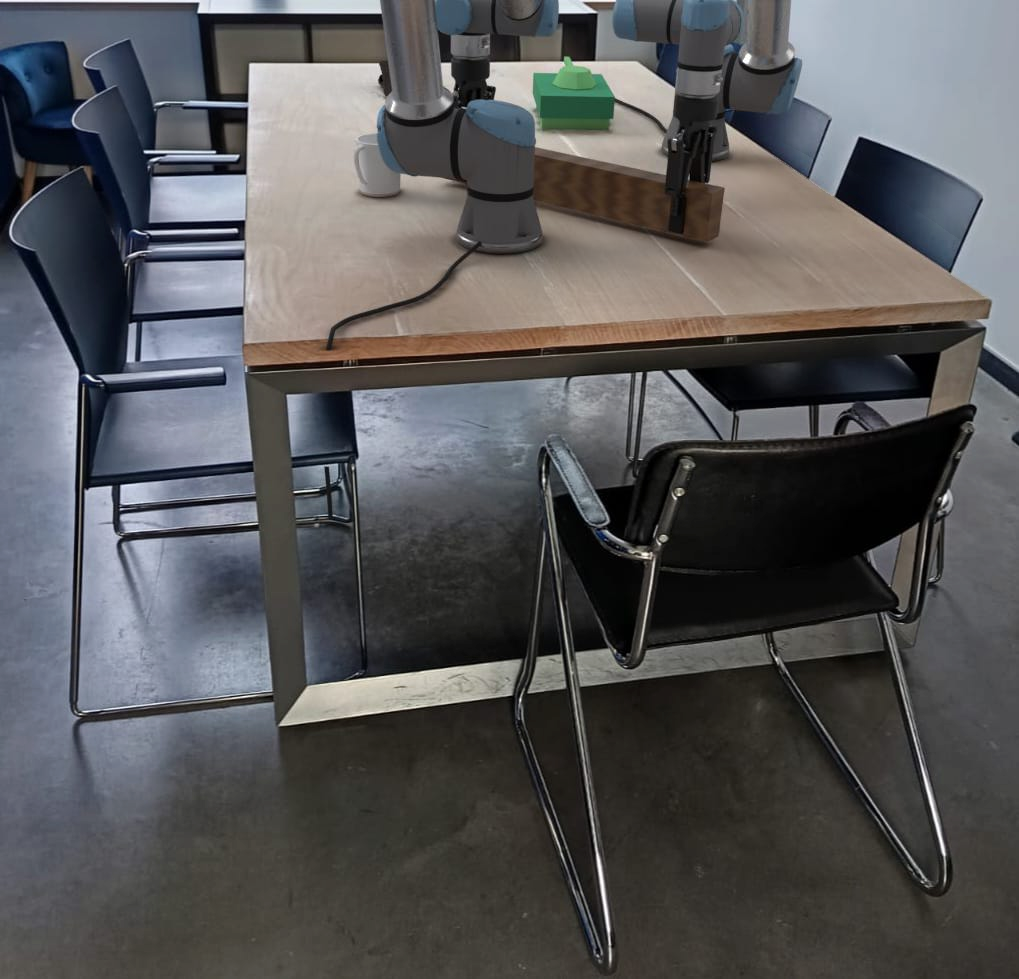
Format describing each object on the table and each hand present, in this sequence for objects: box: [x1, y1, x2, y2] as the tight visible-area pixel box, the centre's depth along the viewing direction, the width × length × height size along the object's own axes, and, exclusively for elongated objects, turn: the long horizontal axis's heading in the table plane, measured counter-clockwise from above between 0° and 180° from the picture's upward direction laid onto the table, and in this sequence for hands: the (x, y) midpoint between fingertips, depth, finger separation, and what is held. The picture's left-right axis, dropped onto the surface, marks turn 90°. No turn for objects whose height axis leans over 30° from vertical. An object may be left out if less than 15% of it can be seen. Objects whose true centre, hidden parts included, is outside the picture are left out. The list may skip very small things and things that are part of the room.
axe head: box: [377, 59, 392, 97], centre depth 299 cm, size 18×8×15 cm
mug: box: [352, 132, 402, 198], centre depth 216 cm, size 11×9×10 cm
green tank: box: [532, 56, 616, 131], centre depth 275 cm, size 18×12×35 cm
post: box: [443, 146, 725, 244], centre depth 208 cm, size 62×5×9 cm, turn 53°
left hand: (470, 177), depth 222 cm, fingers closed on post, 5 cm apart
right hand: (683, 228), depth 197 cm, fingers closed on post, 5 cm apart
